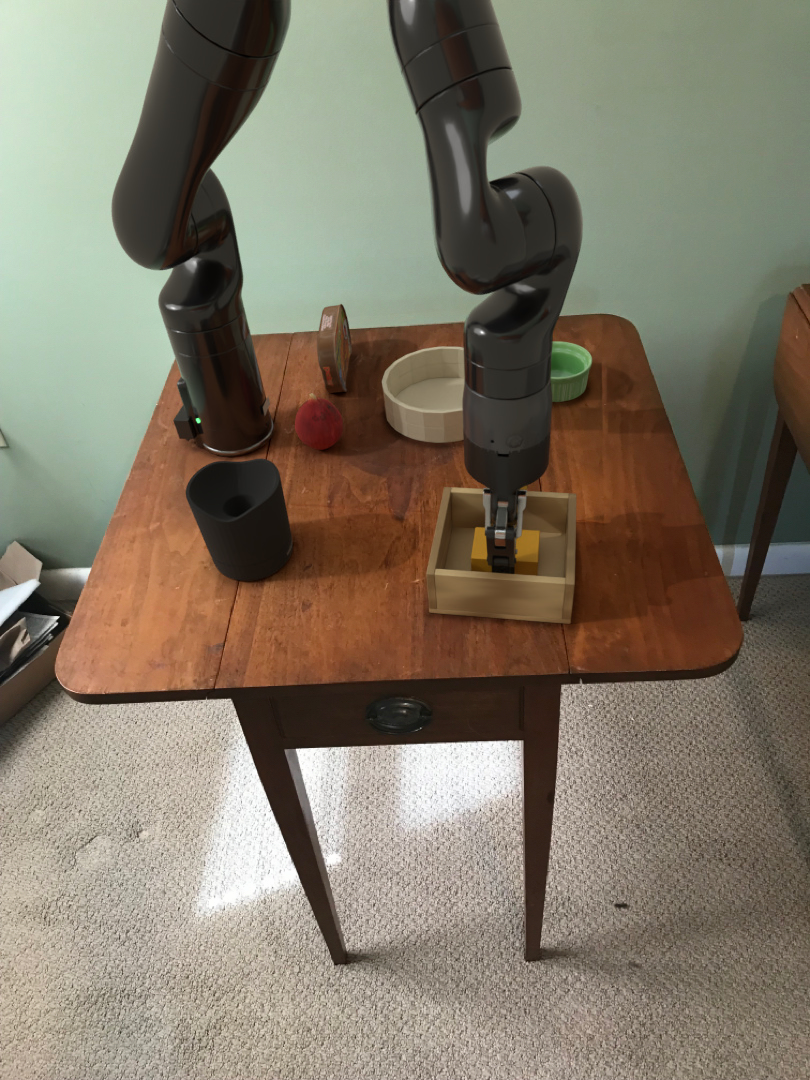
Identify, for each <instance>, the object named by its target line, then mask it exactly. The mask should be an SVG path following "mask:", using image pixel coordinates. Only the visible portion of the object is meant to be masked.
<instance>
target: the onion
mask: <svg viewBox="0 0 810 1080" xmlns="http://www.w3.org/2000/svg"><path fill="white" fill-rule="evenodd" d="M343 423H344V421H343V416H342V413H341V412H340V410H339V409H338V408H337V406H335V405H334V403H332V402H331V401H330V400H328V399H326V398H322V397H319V396H317V395H316V393H313V392H310V393H308V399H307V400H306V401H305V402H304V403H303V404H301V406H300V407H299V409H297V411H296V414H295V420H294V430H295V432H296V434H297V437H298V438H299V440H300V441H301V442H302V443H303V444H304V445H306V446H307V447H309V448H311V449H315V450H318V451H324V450H327V449H329V448H331V447H332V446H334V445H335V444H336V443H338V441H339V440H340V438H341V437H342V434H343V432H344V424H343Z"/></svg>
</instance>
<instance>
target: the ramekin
mask: <svg viewBox="0 0 810 1080" xmlns="http://www.w3.org/2000/svg"><path fill="white" fill-rule="evenodd" d="M592 364H593V356H592V355H591V353H590V352H589V350H588V349H586V348H585V347H583V346H581V345H579V344H577V343H572V342H567V341H553V346H552V363H551V389H552V403H561V402H566V401H567V402H568V401H571V400H574V399H576V398H578V397H580V396H582V394H584V392H585V391H586V389H587V386H588V385H587V384H588V379H589V374H590V371H591V368H592Z"/></svg>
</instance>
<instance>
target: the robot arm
mask: <svg viewBox="0 0 810 1080" xmlns="http://www.w3.org/2000/svg"><path fill="white" fill-rule="evenodd" d="M385 5H386V6H385V7H386V18H387V25H388V26H387V27H388V32H389V36H390V41H391V45H392V49H393V53H394V56H395V59H396V62H397V65H398V69H399V72H400V74H401V78H402V81H403V83H404V86H405V90H406V92H407V95H408V97H409V100H410V104H411V106H412V109H413V112H414V115H415V116H416V121H417V123H418V127H419V129H420V132H421V136H422V142H423V148H424V157H425V165H426V166H425V167H426V174H427V182H428V190H429V202H430V215H431V226H432V229H431V231H432V235H433V244H434V247H435V252H436V255H437V258H438V261H439V263H440V265H441V267H442V269H443V270H444V272H445V274H446V275H447V277H448V278H449V279H450V280H451V281H452V282H453V283H454V284H455V285H456V286H457V287H458V288H459V289H461V290H462V291H464V292H466V293H468V294H471V295H475V296H484V295H488V296H487V297H486V298H485V299H484V300H482V301H481V302H480V303H478V304H477V305H475V307H473V308H472V310H471V311H470V312H469V313H468V315H467V316H466V318H465V320H464V324H463V331H462V332H463V334H462V342H463V345H462V347H463V348H464V349H463V351H464V377H465V378H464V390H463V399H462V411H463V439H464V440H463V457H464V458H463V461H464V462H463V463H464V468H465V470H466V472H467V474H468V475H469V476H470V477H471V478H472V479H473V480H474V481H476V482H478V483H479V484H481V485H483V486H485V487H483V488H482V489H483V507H484V508H485V536H486V544H487V562H488V565H489V566H492V573H505V574H515V563H516V554H517V552H518V549H516V542H517V538H519V537H521V535H522V528H523V510H524V509H525V508H526V501H527V491H528V487H529V485H531V484H534V483H535V482H536V481H538V480H539V479H541V478H542V477H543V476H544V475H545V473H546V471H547V470H548V467H549V464H550V452H551V451H550V448H551V433H552V431H551V430H552V417H553V416H552V415H553V402H552V389H551V363H552V346H553V342H554V341H553V340H554V331H555V328H556V326H557V322H558V320H559V318H560V316H561V312H562V310H563V308H564V304H565V300H566V297H567V294H568V292H569V289H570V285H571V283H572V279H573V276H574V274H575V271H576V266H577V263H578V260H579V256H580V252H581V248H582V242H583V233H584V232H583V230H584V219H583V218H584V217H583V211H582V204H581V201H580V198H579V195H578V193H577V191H576V189H575V186H574V185H573V183H572V182H571V180H570V179H569V178H568V176H566V174H564V173H563V172H562V171H561V170H559V169H557V168H554V167H552V166H549V165H536V166H530V167H527V168H524V169H521V170H518V171H514V172H512V173H509V174H507V175H504V176H500V177H498V178H495V179H492V180H489V176H488V166H487V164H488V160H487V159H488V147H489V146H490V145H491V144H494V143H495V142H496V141H498V140H500V139H501V138H503V137H504V136H505V135H506V134H508V133H509V132H511V130H512V129H514V127H515V126H516V125H517V124H518V122H519V120H520V119H521V115H522V109H523V108H522V107H523V105H522V97H521V93H520V90H519V86H518V82H517V78H516V75H515V73H514V70H513V66H512V63H511V60H510V59H511V58H510V57H509V53H508V49H507V47H506V44H505V40H504V36H503V33H502V31H501V27H500V22H499V21H498V18H497V15H496V11H495V8H494V5H493V1H492V0H385ZM291 16H292V0H166V4H165V8H164V13H163V17H162V22H161V26H160V32H159V37H158V43H157V47H156V52H155V57H154V61H153V65H152V68H151V71H150V76H149V80H148V83H147V88H146V90H145V95H144V100H143V103H142V108H141V112H140V116H139V120H138V123H137V127H136V131H135V133H134V135H133V139H132V141H131V144H130V147H129V149H128V152H127V154H126V157H125V160H124V163H123V165H122V167H121V170H120V172H119V175H118V178H117V181H116V183H115V186H114V189H113V193H112V197H111V207H110V208H111V211H110V212H111V222H112V226H113V230H114V233H115V236H116V238H117V241H118V243H119V245H120V247H121V248H122V250H123V251H124V253H125V254H126V256H127V257H129V259H130V260H132V261H133V262H134V263H135V264H137V265H138V266H140V267H142V268H144V269H146V270H147V269H148V270H152V271H167V270H171V272H170V275H169V277H168V278H167V279H166V281H165V283H164V285H163V286H162V288H161V289H160V292H159V294H158V297H157V303H158V310H159V313H160V315H161V318H162V321H163V324H164V327H165V330H166V334H167V337H168V341H169V343H170V347H171V349H172V352H173V355H174V359H175V362H176V364H177V368H178V371H179V374H180V377H179V379H178V380H177V382H176V387H177V390H178V393H179V394H178V395H179V397H180V399H181V403H182V406H181V407H180V409H179V411H178V412H177V414H176V415H175V416H174V418H173V420H172V422H173V424H174V427H175V430H176V432H177V433H176V434H177V435H178V438H179V439H180V440H186V441H187V442H189V441H190V440H194V442H195V445H196V447H197V448H204V449H205V450H206V451H207V452H209V453H211V454H212V455H216V456H220V457H221V456H222V457H237V456H243V455H246V454H249V453H252V452H255V451H256V450H258V449H260V448H262V447H264V446H265V445H266V444H267V443H268V442H269V441H270V440H271V438H273V435H274V432H275V426H274V421H273V418H272V416H271V412H270V405H271V400H270V396H269V395H266V392H265V391H266V390H265V387H264V383H263V379H262V375H261V371H260V367H259V363H258V359H257V354H256V351H255V346H254V342H253V338H252V334H251V329H250V326H249V321H248V317H247V314H246V310H245V305H244V301H243V296H242V292H243V286H244V270H243V265H242V264H243V263H242V260H241V254H240V253H241V252H240V248H239V242H238V237H237V231H236V226H235V221H234V216H233V212H232V208H231V204H230V201H229V199H228V195H227V193H226V191H225V188H224V187H223V185H222V182H221V180H220V178H219V177H218V176H217V174H216V173H215V172H214V171H213V169H212V166H213V164H214V163H215V162H216V160H217V159H218V158H219V157H220V156H221V154H222V152H224V150H225V149H226V148H227V146H228V145H229V144H230V143H231V141H232V140H233V139H234V138H235V136H236V135H237V134H238V133H239V131H240V130H241V129H242V128H243V126H244V124H245V123H246V122H247V120H248V119H249V118H250V116H251V115H252V114H253V112H254V110H255V109H256V107H257V106H258V105H259V103H260V101H261V99H262V98H263V96H264V94H265V92H266V90H267V87H268V86H269V83H270V81H271V78H272V75H273V73H274V70H275V67H276V65H277V62H278V59H279V57H280V55H281V52H282V49H283V46H284V44H285V41H286V39H287V35H288V31H289V28H290V23H291V19H292V17H291ZM489 294H490V295H489ZM492 517H493V519H494V520H495V521H496V524H495V523H493V521H492Z"/></svg>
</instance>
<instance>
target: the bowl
mask: <svg viewBox="0 0 810 1080" xmlns="http://www.w3.org/2000/svg"><path fill="white" fill-rule="evenodd" d="M463 349H464V348H463V346H443V345H442V346H441V345H440V346H435V347H427V348H422V349H419V350H416V351H413V352H410V353H407V354H405V355H404V356H402V357H399V358H398V359H397V360H395V361H393V362H392V364H390V365H389V366H388V367H387V368H386V370H385V371H384V373H383V376H382V379H381V389H382V396H383V406H384V413H385V417H386V421H387V422H388V424H389V425H390V426H391V427H392V428H393V430H395V431H396V432H398V433H399V434H401V435H402V436H404V437H407V438H410V439H412V440H415V441H418V442H419V441H420V442H424V443H433V444H434V443H435V444H437V443H438V444H439V443H440V444H444V443H445V444H446V443H455V442H460V441H464V439H463V411H462V399H463V390H464V378H465V377H464V351H463Z"/></svg>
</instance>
